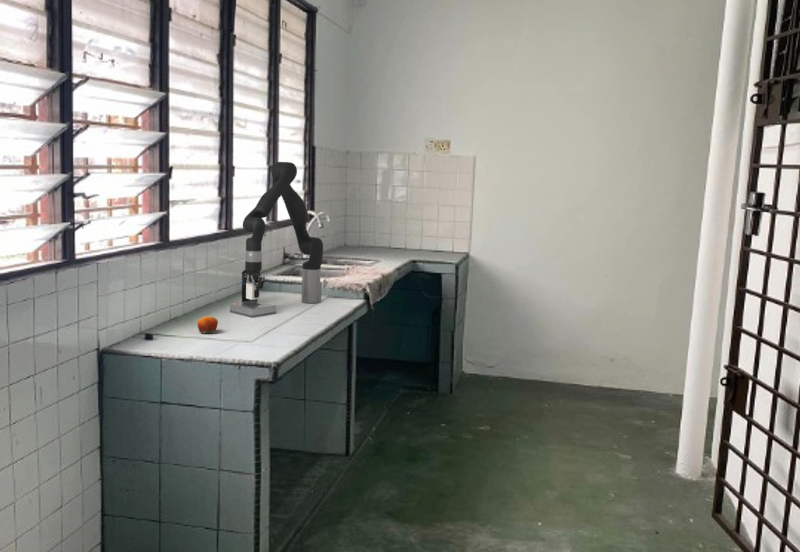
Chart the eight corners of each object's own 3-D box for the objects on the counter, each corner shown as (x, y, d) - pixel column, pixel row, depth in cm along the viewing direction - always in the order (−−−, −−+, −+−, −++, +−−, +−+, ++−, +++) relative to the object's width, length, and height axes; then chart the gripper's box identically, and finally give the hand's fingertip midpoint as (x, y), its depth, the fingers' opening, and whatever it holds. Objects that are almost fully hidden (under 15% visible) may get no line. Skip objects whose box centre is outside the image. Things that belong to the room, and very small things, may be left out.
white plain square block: (253, 297, 338) (253, 282, 337) (259, 298, 335) (260, 283, 334) (245, 298, 334) (246, 283, 333) (252, 299, 331) (252, 284, 330)
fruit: (200, 333, 287) (198, 314, 289) (197, 339, 293) (195, 320, 296) (221, 331, 290) (218, 313, 293) (217, 337, 297) (214, 319, 299)
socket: (253, 308, 346) (253, 299, 345) (275, 313, 336) (276, 304, 335) (229, 312, 335) (229, 302, 334) (252, 317, 325) (252, 307, 325)
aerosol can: (261, 304, 357) (262, 264, 354) (249, 306, 350) (250, 265, 347) (249, 302, 361) (249, 262, 358) (237, 304, 354) (237, 264, 351)
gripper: (270, 261, 330) (269, 298, 333) (249, 258, 339) (249, 293, 342) (257, 262, 325) (256, 300, 327) (237, 259, 334) (236, 295, 336)
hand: (252, 296), depth 334 cm, fingers closed on white plain square block, 4 cm apart
